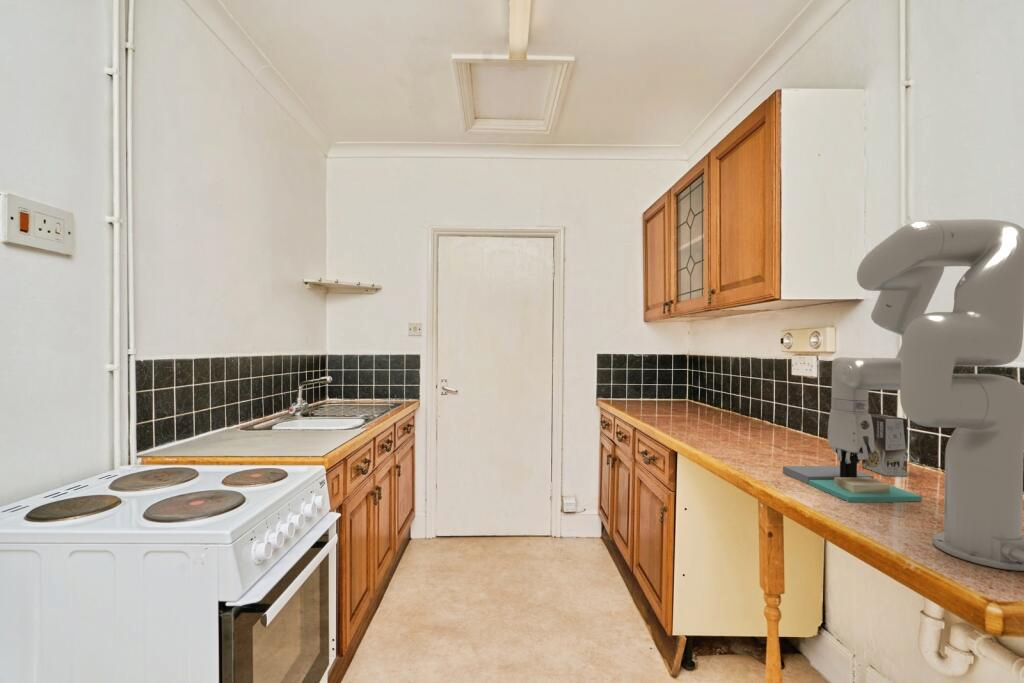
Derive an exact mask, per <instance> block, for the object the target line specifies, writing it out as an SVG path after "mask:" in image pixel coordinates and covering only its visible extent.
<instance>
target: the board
mask: <svg viewBox="0 0 1024 683" xmlns="http://www.w3.org/2000/svg"><path fill="white" fill-rule="evenodd" d="M782 474H784V475H786V476H789V477H790V476H791V477H790V478H793V479H794V480H797V481H799V480H800V482H802V483H804V484H806V485H809V480H834V477H840V465H783V466H782ZM857 477H869V478H872V479H874V476H873V475H871V474H869V473H865V472H863V471H859V470H857Z"/></svg>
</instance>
